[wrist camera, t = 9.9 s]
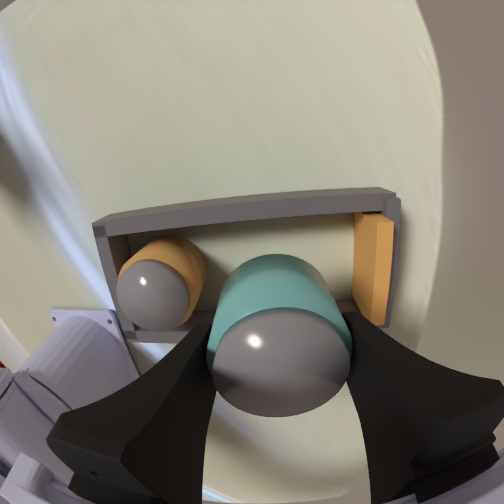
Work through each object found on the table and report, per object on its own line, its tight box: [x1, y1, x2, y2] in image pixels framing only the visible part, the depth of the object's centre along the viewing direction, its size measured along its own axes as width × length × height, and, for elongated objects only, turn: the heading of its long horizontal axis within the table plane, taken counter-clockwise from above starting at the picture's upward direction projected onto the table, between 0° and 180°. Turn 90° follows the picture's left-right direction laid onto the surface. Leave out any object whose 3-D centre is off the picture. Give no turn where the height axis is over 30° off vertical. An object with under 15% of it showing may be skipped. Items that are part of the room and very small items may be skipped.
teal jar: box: [206, 254, 353, 417], centre depth 10 cm, size 5×5×4 cm
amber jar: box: [116, 235, 207, 332], centre depth 17 cm, size 5×5×4 cm
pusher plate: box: [352, 211, 394, 326], centre depth 16 cm, size 6×1×4 cm, turn 6°
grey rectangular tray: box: [92, 187, 401, 343], centre depth 17 cm, size 9×18×3 cm, turn 96°
